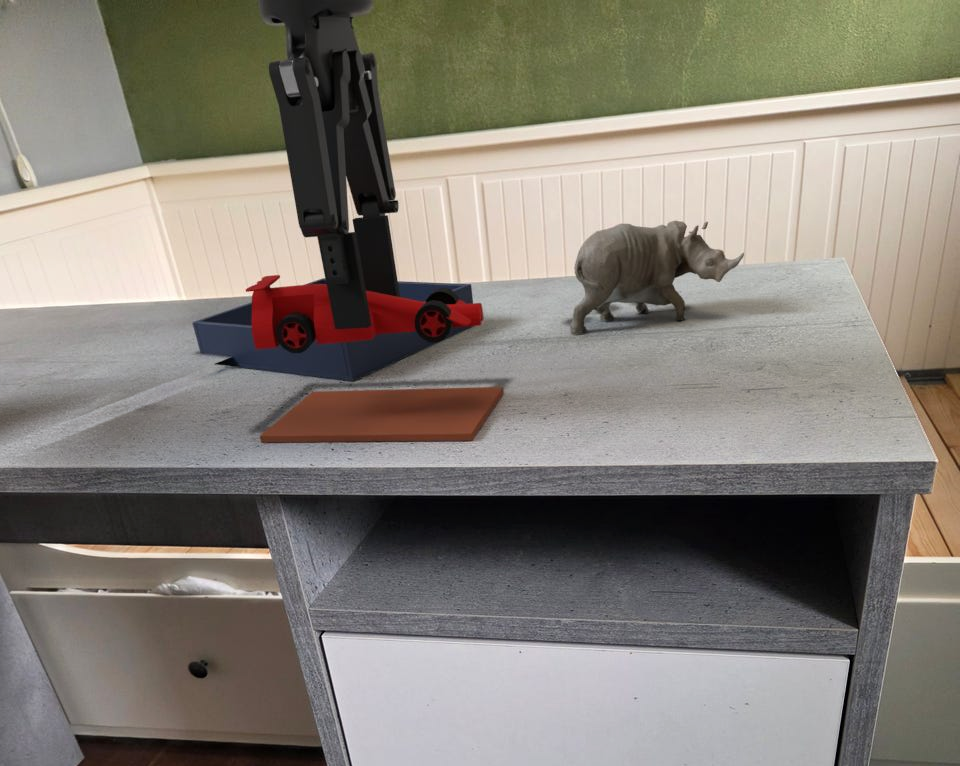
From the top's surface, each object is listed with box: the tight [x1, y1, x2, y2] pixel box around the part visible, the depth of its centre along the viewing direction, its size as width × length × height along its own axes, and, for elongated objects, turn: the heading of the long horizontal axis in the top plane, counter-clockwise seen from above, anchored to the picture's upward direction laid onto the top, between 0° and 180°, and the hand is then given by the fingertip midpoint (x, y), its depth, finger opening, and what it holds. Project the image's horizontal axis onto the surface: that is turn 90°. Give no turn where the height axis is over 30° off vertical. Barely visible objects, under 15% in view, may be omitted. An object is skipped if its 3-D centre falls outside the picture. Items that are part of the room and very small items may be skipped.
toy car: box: [245, 274, 484, 353], centre depth 69 cm, size 6×18×5 cm, turn 84°
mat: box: [259, 386, 505, 443], centre depth 74 cm, size 18×11×1 cm, turn 76°
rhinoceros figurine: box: [569, 220, 745, 336], centre depth 89 cm, size 8×14×15 cm
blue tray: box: [191, 277, 474, 382], centre depth 95 cm, size 22×20×4 cm
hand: (369, 314), depth 69 cm, fingers closed on toy car, 6 cm apart
